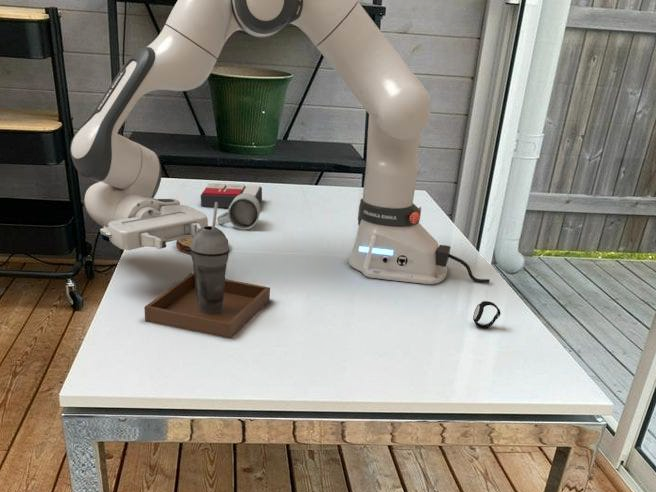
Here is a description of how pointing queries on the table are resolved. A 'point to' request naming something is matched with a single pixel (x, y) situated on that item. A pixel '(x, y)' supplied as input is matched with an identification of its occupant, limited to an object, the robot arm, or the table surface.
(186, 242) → the burger
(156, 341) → the table surface
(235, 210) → the ceramic mug
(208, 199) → the red and grey box
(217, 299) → the beverage cup
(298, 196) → the table surface
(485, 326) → the smartwatch
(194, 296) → the tray
